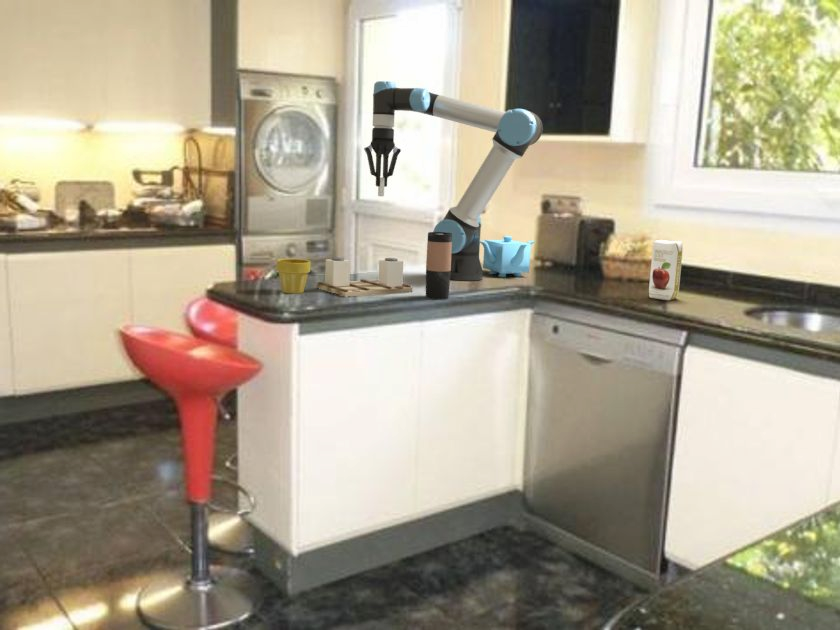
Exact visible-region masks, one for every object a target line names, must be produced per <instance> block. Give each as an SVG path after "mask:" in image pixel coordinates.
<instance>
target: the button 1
mask: <svg viewBox="0 0 840 630" xmlns="http://www.w3.org/2000/svg"><path fill="white" fill-rule="evenodd" d="M324 271H325V277H324V280H325V281H324V283H326V284H329V285H332V286H336V287H339V286H350V282H351V276H350V275H351V260H349V259H345V257H337V256H336V257H331V258H329V259H325V270H324Z"/></svg>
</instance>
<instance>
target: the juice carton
mask: <svg viewBox="0 0 840 630" xmlns="http://www.w3.org/2000/svg"><path fill="white" fill-rule="evenodd" d="M683 249H684V247H683V242H682V241H670V240H666V239H665V240H664V239H659V240H658V239H657V240H655V241H654V244H653V247H652V253H651V263H650V264H651V265H650V275H649V287H648V294H649V298H651V299H657V300H663V301H672V300H676V299H677V297H678V295H679V291H680V282H681V271H682V264H683V263H682V261H683V252H684V251H683Z"/></svg>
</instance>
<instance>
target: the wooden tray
mask: <svg viewBox="0 0 840 630" xmlns="http://www.w3.org/2000/svg"><path fill="white" fill-rule="evenodd" d="M315 285H316V287H315V289H317V288H320V289H323V290H326V291H330V292H333V293H336V294H339V295H338V296H340V295H342V296H341V297H343V296H345V297H344V298H349V297H348V296H357V297H368V296H367V295H370V296H380V295H391V294H392V295H393V294H394V295H395V294H406V293H413V291H414V287H413V286H412V285H411V284H406V283H403V284H402V286H393V287H390V286H386V285H382V284H379V283H378V279H369V280H367V279H363V278H361V279H360V280H355V281H353V280H352V281H351V280H350V286H339V287H336V286H332V285H329V284H326V283H325V282H321V281H318V282H317V283H316V284H315ZM320 289H319V290H320ZM323 290H322V291H323ZM326 291H325V292H326ZM330 292H329V293H330ZM333 293H332V294H333ZM336 294H335V295H336Z"/></svg>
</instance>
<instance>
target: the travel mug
mask: <svg viewBox="0 0 840 630" xmlns="http://www.w3.org/2000/svg"><path fill="white" fill-rule="evenodd" d="M426 244H427V246H426V262H425V298H427V299H431V300H447V299H449V298H450V297H449V294H450V285H451V284H450V282H451V279H450V273H451V250H452V233H446V232H433V231H429V232H427V243H426Z"/></svg>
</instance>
